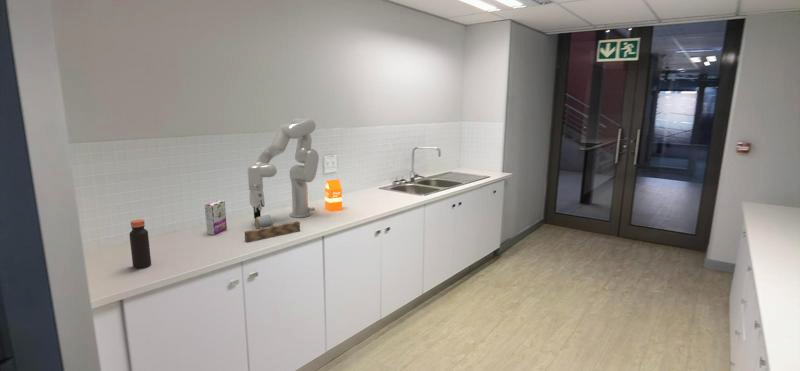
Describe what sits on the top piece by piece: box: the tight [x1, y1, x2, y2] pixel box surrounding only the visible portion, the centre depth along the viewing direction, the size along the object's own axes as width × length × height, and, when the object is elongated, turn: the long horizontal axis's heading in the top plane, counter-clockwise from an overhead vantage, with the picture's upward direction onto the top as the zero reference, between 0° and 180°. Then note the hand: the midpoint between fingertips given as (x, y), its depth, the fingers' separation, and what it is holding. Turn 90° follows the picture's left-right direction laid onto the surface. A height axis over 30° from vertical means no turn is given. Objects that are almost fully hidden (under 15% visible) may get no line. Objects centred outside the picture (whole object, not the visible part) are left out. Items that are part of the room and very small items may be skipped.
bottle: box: [129, 219, 152, 270], centre depth 183 cm, size 7×7×20 cm
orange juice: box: [324, 178, 343, 212], centre depth 283 cm, size 8×9×20 cm
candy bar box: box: [204, 200, 228, 236], centre depth 233 cm, size 11×5×16 cm, turn 168°
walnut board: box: [243, 220, 301, 243], centre depth 228 cm, size 30×2×5 cm, turn 132°
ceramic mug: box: [254, 214, 274, 229], centre depth 239 cm, size 11×8×8 cm
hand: (257, 218), depth 246 cm, fingers closed
